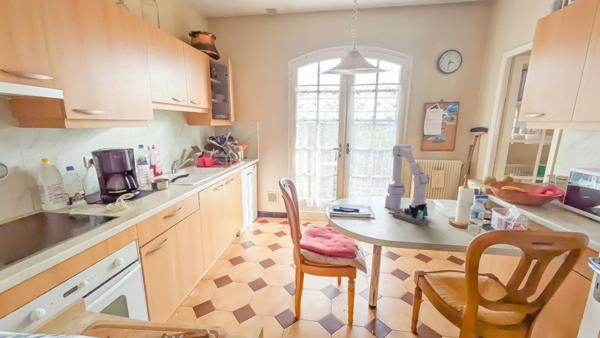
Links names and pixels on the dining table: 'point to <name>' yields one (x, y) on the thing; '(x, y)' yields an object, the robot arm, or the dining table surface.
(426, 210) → the perfume bottle
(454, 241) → the dining table surface
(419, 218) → the charger
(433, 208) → the dining table surface
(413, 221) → the strip
